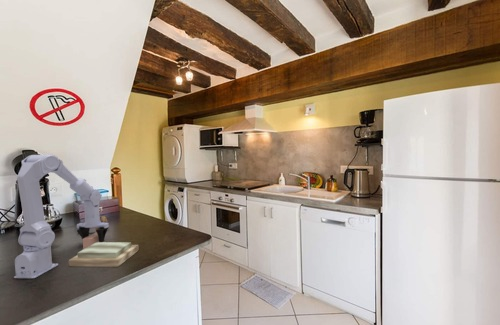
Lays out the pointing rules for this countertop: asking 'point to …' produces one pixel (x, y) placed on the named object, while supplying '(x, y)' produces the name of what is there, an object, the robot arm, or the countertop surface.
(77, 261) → the tower base
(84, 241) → the terracotta brick
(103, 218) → the lion figurine
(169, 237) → the countertop surface
